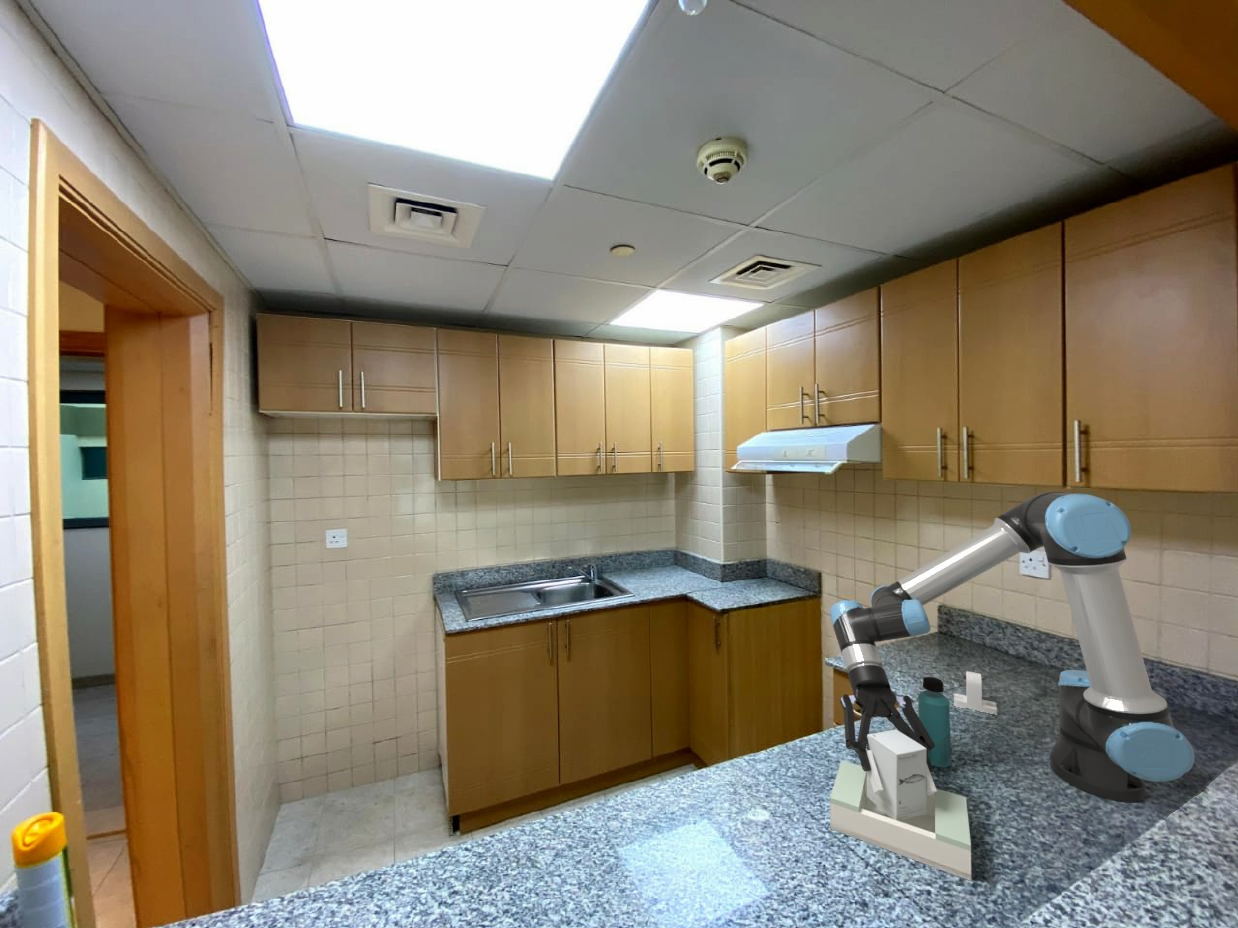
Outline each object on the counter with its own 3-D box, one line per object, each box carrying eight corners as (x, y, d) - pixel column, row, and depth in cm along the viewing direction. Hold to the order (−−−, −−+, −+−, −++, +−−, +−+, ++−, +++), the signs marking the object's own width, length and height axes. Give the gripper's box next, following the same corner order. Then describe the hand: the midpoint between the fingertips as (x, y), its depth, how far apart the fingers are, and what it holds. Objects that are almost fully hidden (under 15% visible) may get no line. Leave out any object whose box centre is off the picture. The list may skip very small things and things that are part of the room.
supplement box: (896, 823, 89) (896, 754, 89) (865, 796, 96) (865, 732, 96) (928, 815, 91) (928, 748, 91) (895, 789, 98) (895, 727, 98)
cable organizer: (953, 699, 144) (953, 665, 144) (996, 708, 139) (995, 673, 139) (954, 706, 140) (953, 672, 140) (997, 716, 134) (997, 680, 134)
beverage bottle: (957, 775, 109) (956, 686, 109) (924, 772, 110) (923, 684, 110) (943, 758, 115) (943, 674, 115) (913, 755, 117) (912, 672, 117)
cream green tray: (966, 828, 93) (965, 796, 93) (971, 880, 81) (970, 845, 81) (841, 787, 105) (841, 760, 105) (830, 828, 93) (830, 797, 93)
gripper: (909, 677, 108) (956, 798, 92) (810, 676, 109) (839, 795, 93) (923, 663, 103) (975, 788, 87) (819, 662, 104) (851, 785, 88)
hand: (905, 791), depth 90 cm, fingers closed on supplement box, 9 cm apart
